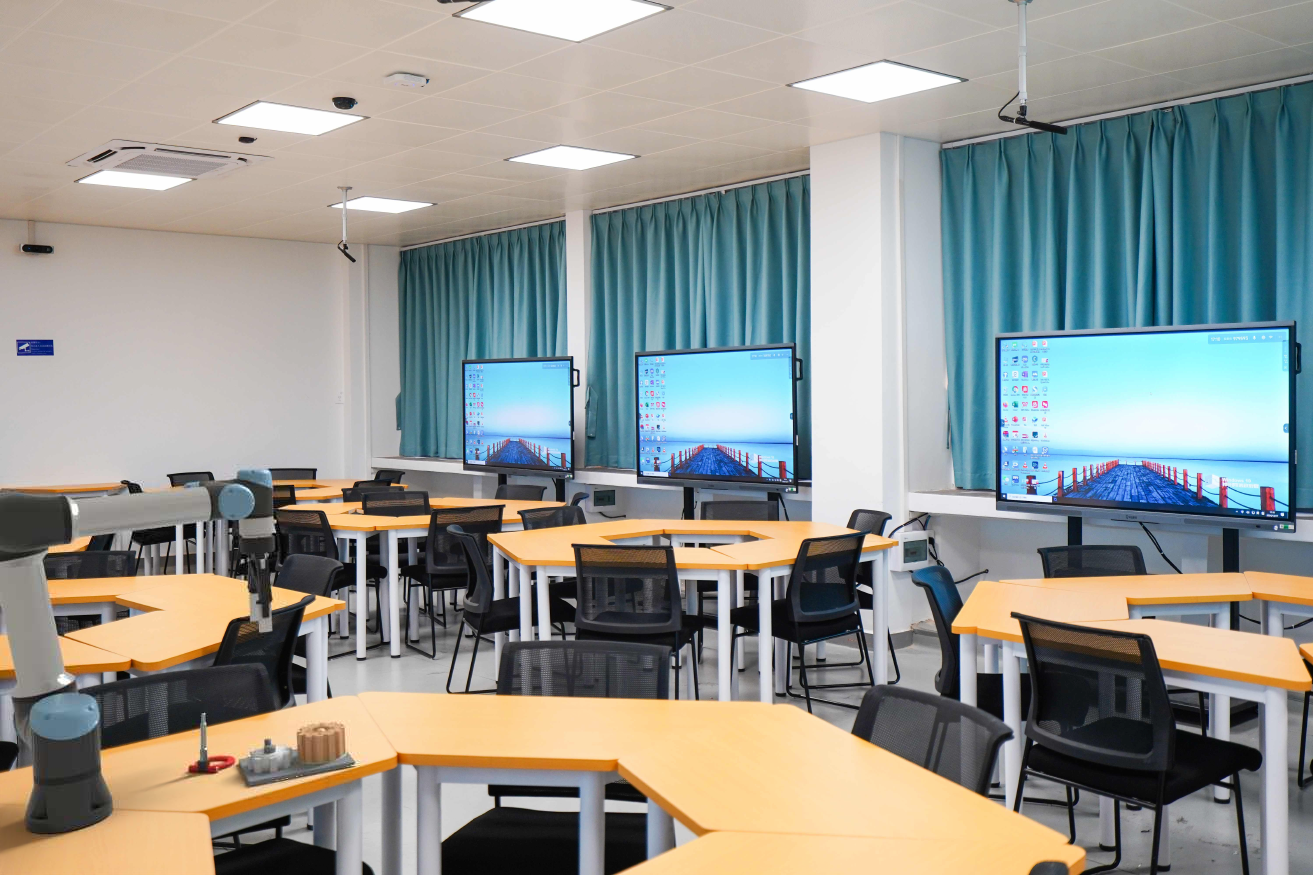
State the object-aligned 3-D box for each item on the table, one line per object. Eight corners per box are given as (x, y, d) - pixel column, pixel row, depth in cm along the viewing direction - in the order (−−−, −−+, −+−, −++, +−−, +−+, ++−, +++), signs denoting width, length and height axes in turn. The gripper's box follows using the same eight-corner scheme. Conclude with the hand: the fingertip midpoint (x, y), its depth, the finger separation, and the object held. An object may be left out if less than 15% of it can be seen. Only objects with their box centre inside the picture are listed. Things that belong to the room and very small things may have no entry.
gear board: (249, 786, 220) (247, 752, 219) (238, 763, 234) (237, 731, 233) (355, 765, 230) (353, 733, 230) (339, 745, 244) (337, 714, 244)
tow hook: (208, 759, 238) (184, 772, 229) (207, 703, 238) (183, 713, 229) (242, 761, 237) (219, 774, 228) (242, 704, 237) (218, 714, 228)
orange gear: (350, 757, 233) (349, 730, 232) (302, 766, 228) (301, 739, 227) (340, 744, 242) (339, 718, 241) (294, 752, 237) (293, 726, 236)
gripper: (283, 539, 233) (287, 634, 234) (265, 528, 255) (269, 614, 255) (247, 543, 229) (251, 638, 230) (232, 531, 251) (236, 618, 252)
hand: (261, 626), depth 243 cm, fingers open, 13 cm apart
